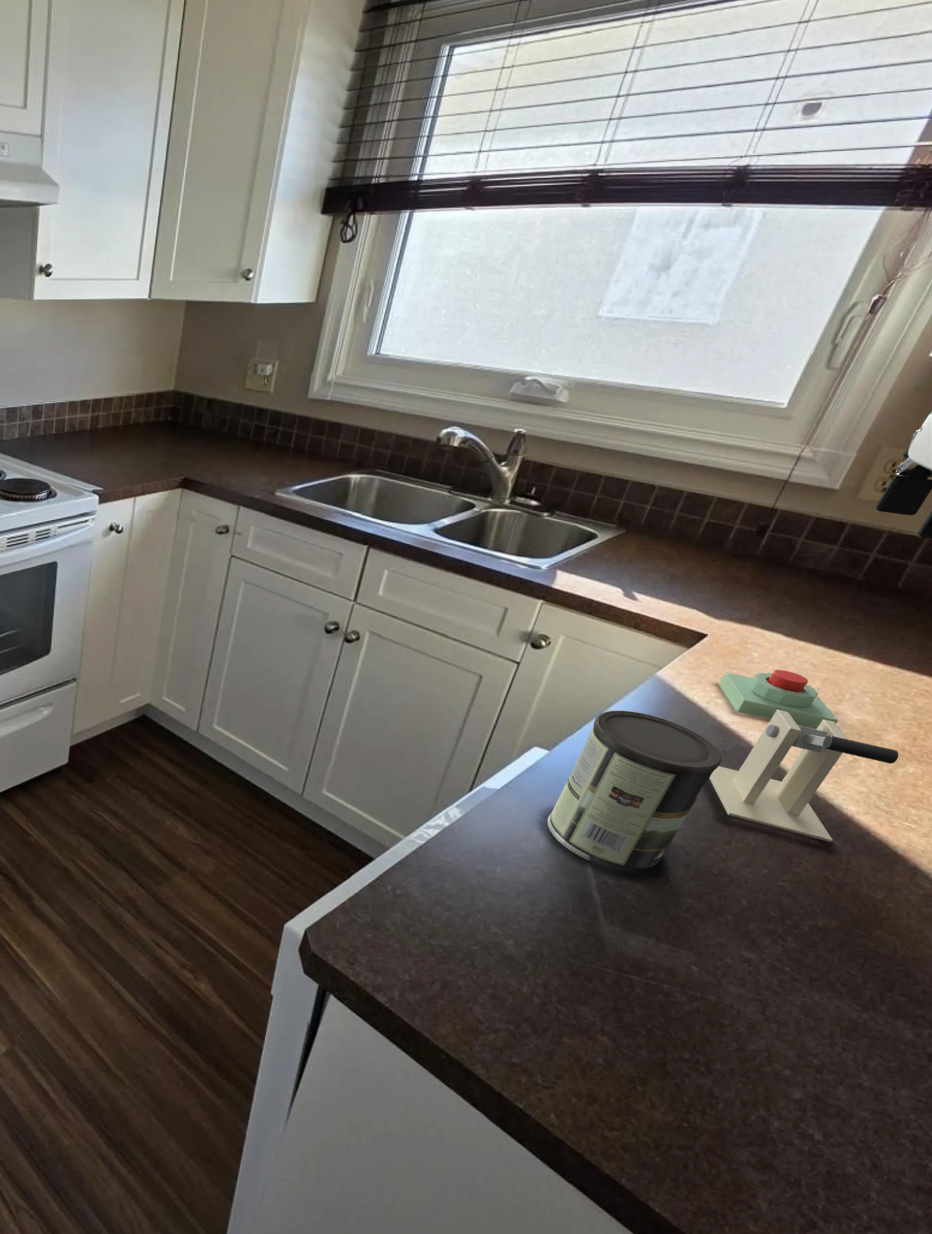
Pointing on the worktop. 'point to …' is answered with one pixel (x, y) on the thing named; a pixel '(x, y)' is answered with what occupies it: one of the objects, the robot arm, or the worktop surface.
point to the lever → (842, 746)
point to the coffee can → (631, 788)
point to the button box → (774, 699)
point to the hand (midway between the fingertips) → (915, 525)
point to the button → (788, 681)
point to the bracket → (773, 799)
